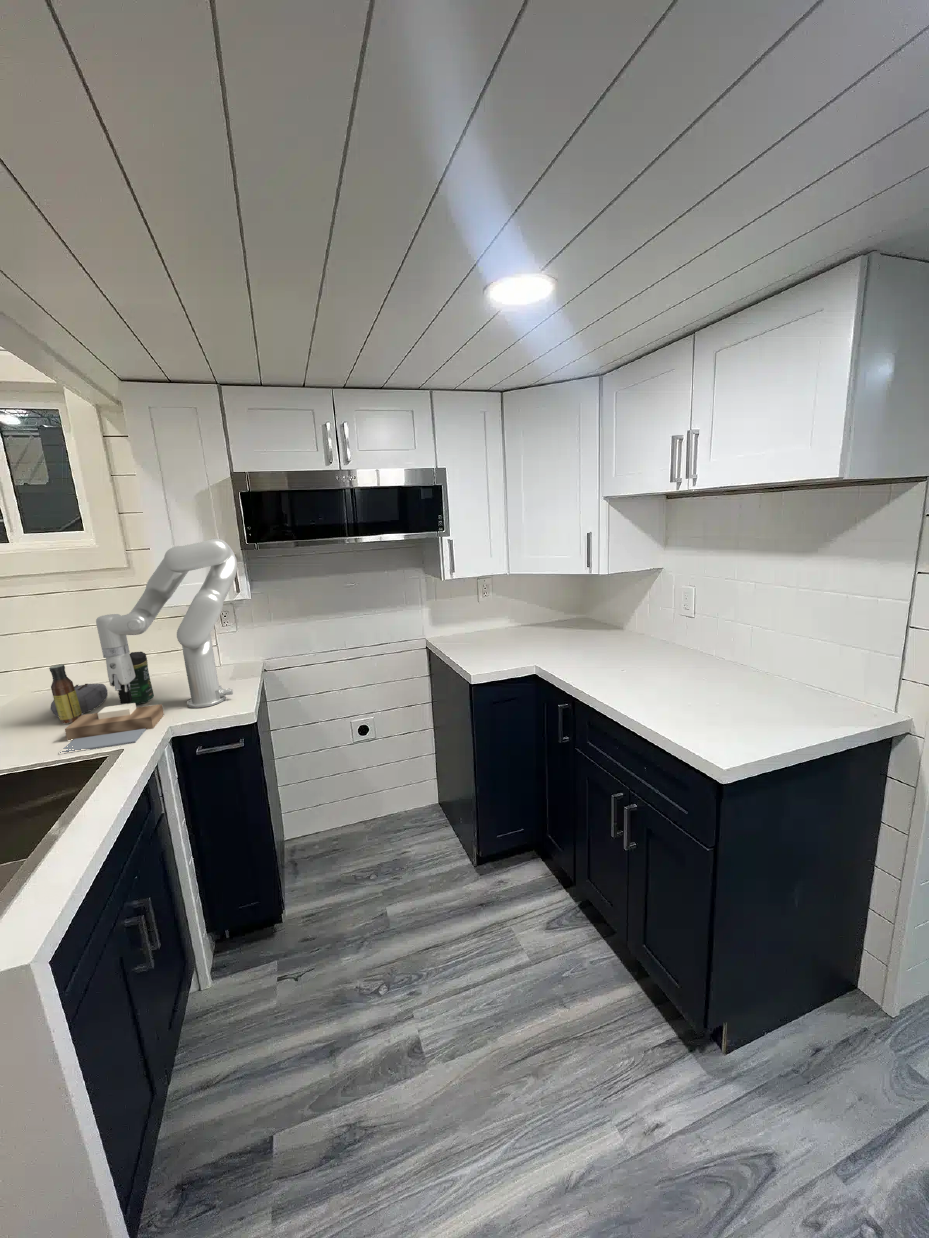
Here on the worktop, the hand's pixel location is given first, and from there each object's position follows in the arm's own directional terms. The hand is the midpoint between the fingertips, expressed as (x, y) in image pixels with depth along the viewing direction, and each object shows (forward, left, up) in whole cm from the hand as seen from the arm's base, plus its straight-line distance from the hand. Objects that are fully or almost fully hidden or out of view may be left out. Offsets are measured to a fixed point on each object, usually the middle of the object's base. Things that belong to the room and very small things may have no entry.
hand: (126, 702), depth 179 cm
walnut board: (0, +10, -5) cm, 11 cm away
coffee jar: (+1, -16, -5) cm, 16 cm away
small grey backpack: (+21, -17, -5) cm, 28 cm away
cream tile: (0, +8, -1) cm, 8 cm away
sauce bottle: (+19, -4, -5) cm, 20 cm away
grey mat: (0, +22, -5) cm, 22 cm away
